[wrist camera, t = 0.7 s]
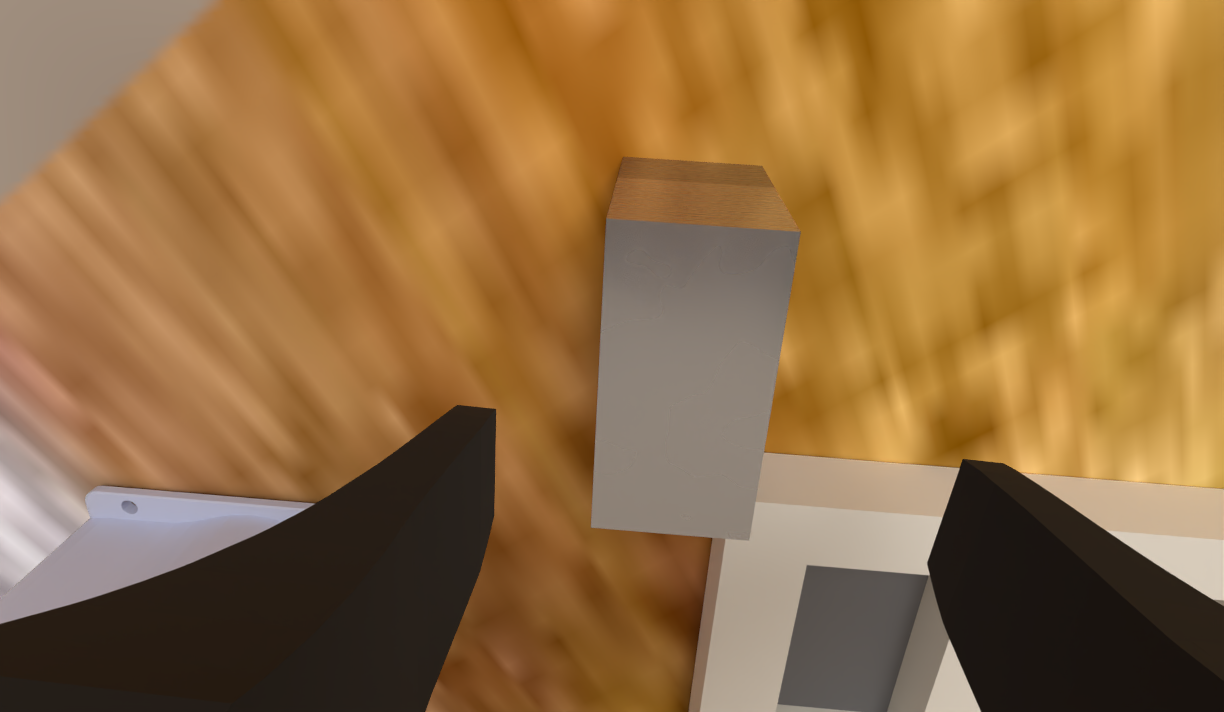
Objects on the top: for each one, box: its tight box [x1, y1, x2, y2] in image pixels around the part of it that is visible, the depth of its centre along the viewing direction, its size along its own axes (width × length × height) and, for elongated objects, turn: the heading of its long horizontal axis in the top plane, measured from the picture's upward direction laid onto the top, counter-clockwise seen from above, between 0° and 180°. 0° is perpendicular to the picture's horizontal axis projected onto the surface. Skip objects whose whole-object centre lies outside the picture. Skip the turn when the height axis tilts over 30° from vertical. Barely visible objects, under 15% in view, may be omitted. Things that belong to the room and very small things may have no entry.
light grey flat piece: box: [688, 453, 1224, 712], centre depth 24 cm, size 16×12×2 cm
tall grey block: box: [591, 157, 800, 541], centre depth 18 cm, size 4×7×6 cm, turn 177°
